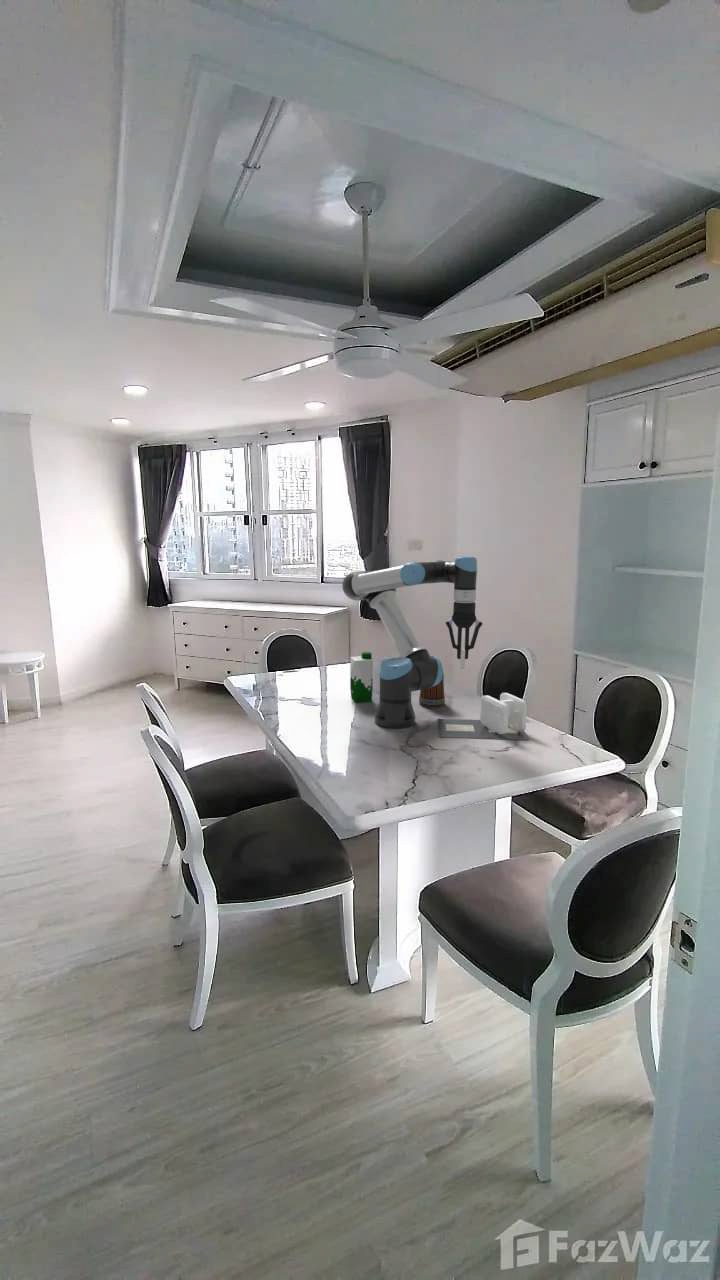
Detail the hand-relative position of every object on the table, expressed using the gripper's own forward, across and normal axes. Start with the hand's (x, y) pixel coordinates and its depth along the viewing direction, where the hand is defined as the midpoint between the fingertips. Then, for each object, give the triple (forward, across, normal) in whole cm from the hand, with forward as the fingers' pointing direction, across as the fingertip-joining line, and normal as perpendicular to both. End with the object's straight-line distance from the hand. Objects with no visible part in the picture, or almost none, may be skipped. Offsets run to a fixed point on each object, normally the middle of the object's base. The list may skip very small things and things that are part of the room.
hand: (462, 667), depth 214 cm
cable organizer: (+22, +15, 0) cm, 27 cm away
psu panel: (+22, +8, 0) cm, 24 cm away
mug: (+23, -10, +32) cm, 40 cm away
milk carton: (+23, -38, +32) cm, 55 cm away
